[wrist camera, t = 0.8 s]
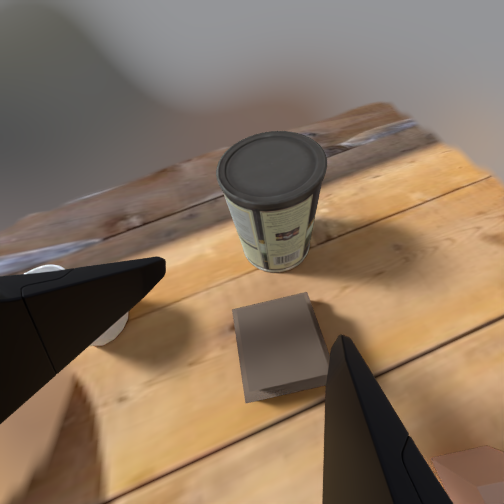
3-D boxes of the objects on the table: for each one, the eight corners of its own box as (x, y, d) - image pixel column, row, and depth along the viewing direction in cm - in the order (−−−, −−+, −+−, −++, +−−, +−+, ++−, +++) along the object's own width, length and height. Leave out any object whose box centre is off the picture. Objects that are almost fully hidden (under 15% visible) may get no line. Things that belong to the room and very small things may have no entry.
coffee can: (275, 206, 34) (270, 119, 22) (324, 241, 30) (352, 154, 17) (229, 243, 32) (195, 168, 20) (275, 287, 27) (268, 224, 15)
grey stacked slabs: (332, 380, 21) (347, 384, 16) (250, 398, 21) (239, 409, 16) (304, 299, 26) (309, 282, 21) (237, 315, 26) (225, 302, 21)
